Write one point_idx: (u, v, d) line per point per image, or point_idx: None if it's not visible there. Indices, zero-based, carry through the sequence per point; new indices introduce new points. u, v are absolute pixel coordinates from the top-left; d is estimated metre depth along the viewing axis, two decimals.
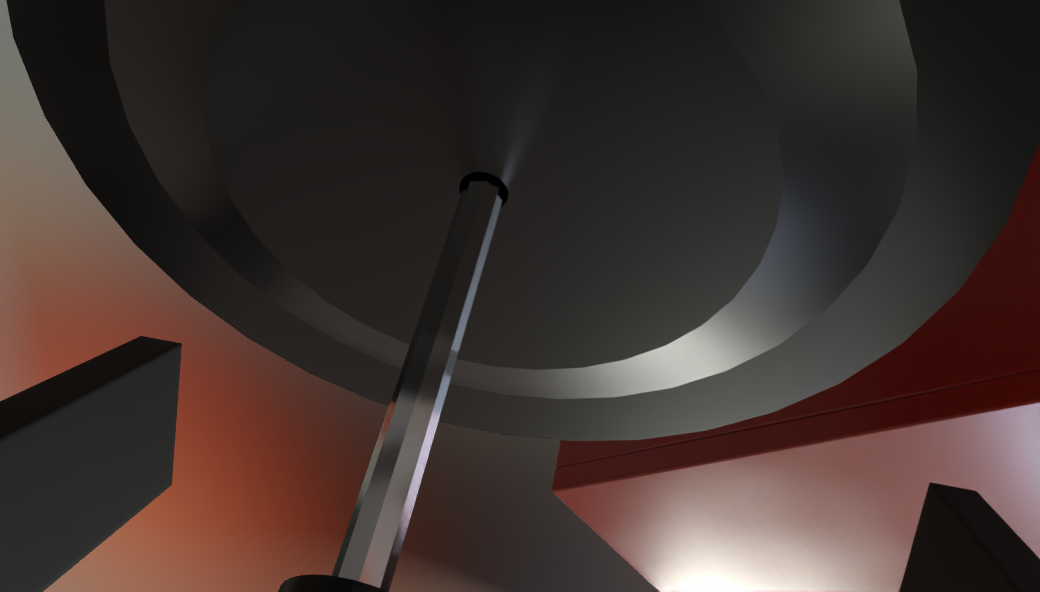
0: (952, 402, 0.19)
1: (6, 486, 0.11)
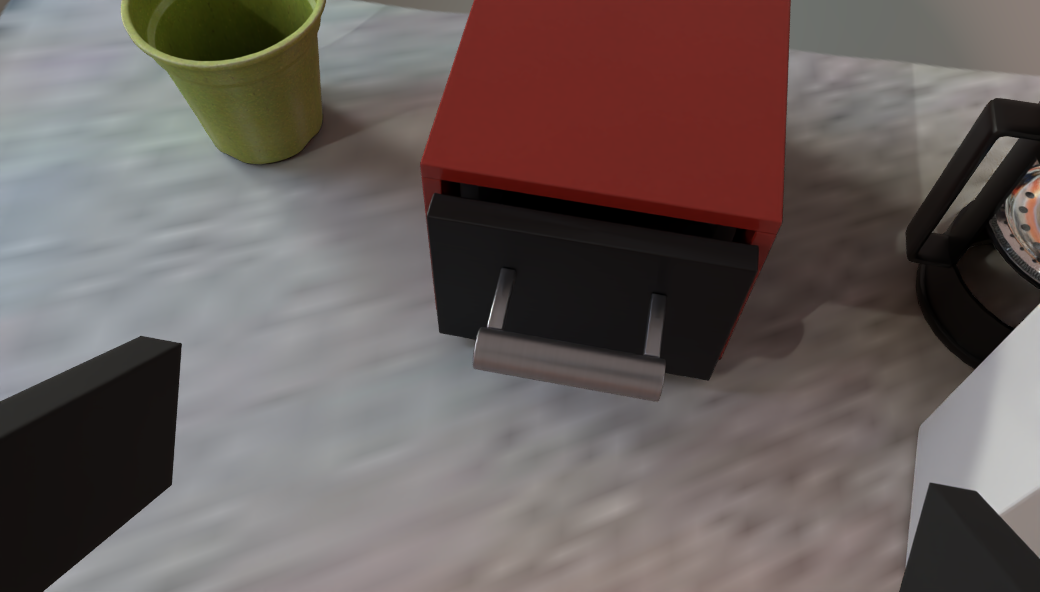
0: None
1: (6, 486, 0.11)
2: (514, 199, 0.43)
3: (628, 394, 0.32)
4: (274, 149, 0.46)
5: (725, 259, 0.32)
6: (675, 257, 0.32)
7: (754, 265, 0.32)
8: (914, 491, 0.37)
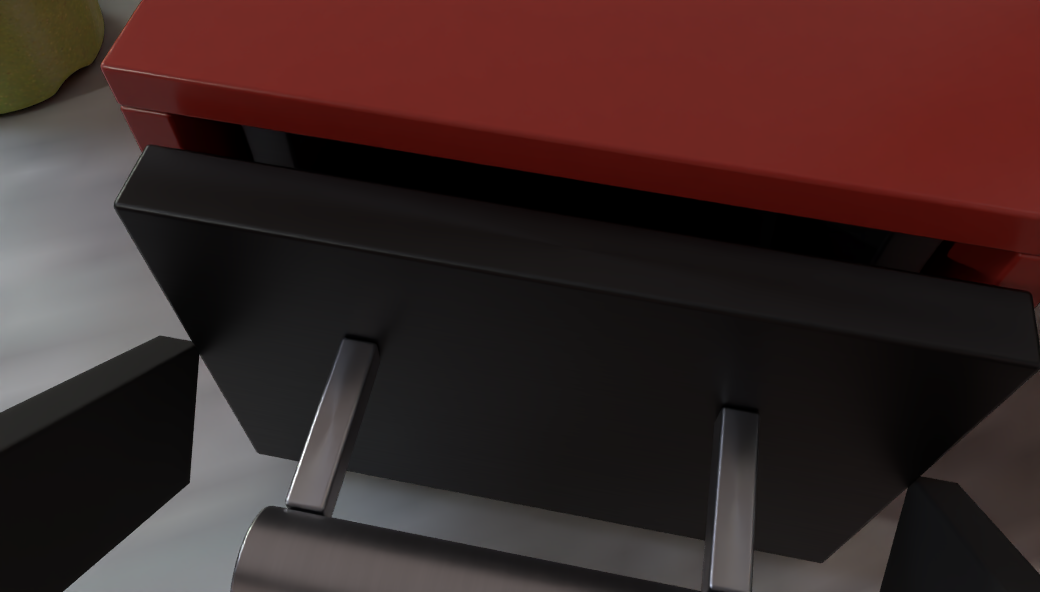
0: None
1: (34, 483, 0.11)
2: (427, 179, 0.22)
3: None
4: None
5: (945, 332, 0.11)
6: (802, 325, 0.11)
7: (1031, 349, 0.11)
8: None
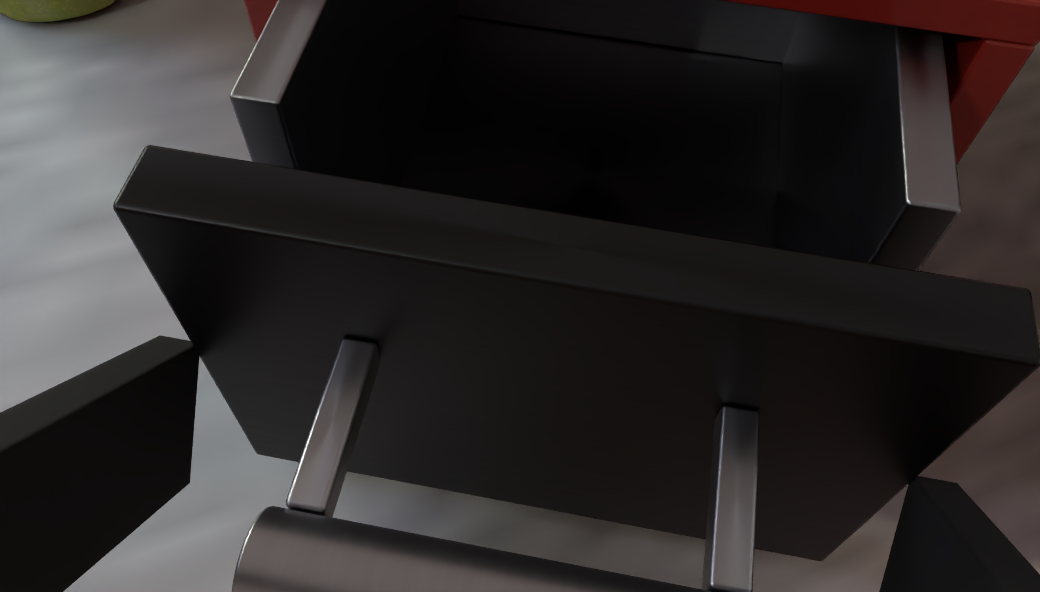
0: None
1: (34, 483, 0.11)
2: (425, 179, 0.22)
3: None
4: None
5: (944, 329, 0.11)
6: (801, 323, 0.11)
7: (1030, 347, 0.11)
8: None
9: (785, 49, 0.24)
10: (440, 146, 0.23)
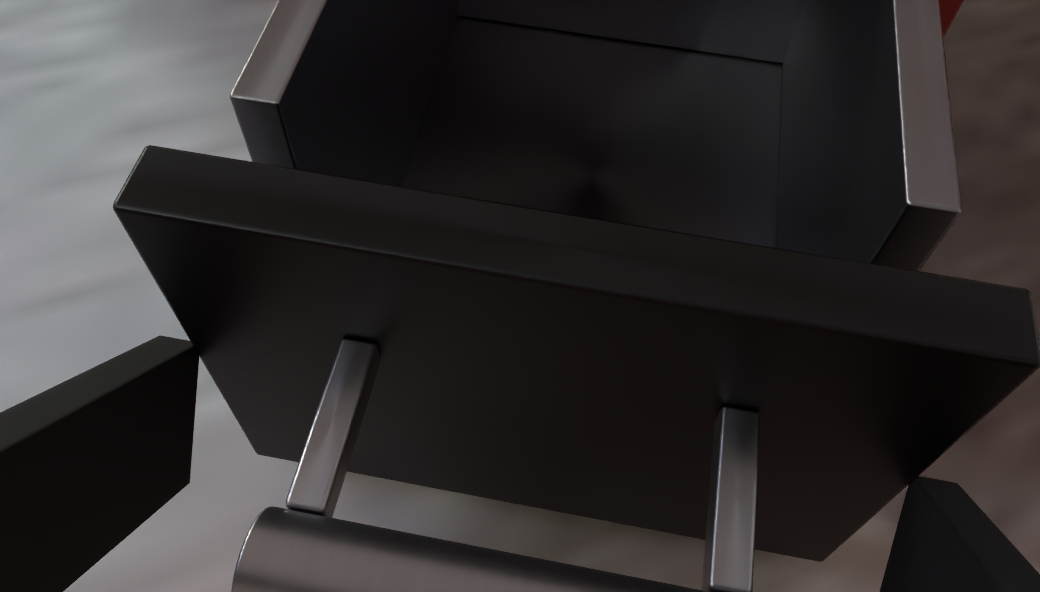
0: None
1: (34, 483, 0.11)
2: (425, 179, 0.22)
3: None
4: None
5: (944, 330, 0.11)
6: (802, 324, 0.11)
7: (1031, 348, 0.11)
8: None
9: (785, 49, 0.24)
10: (440, 146, 0.23)
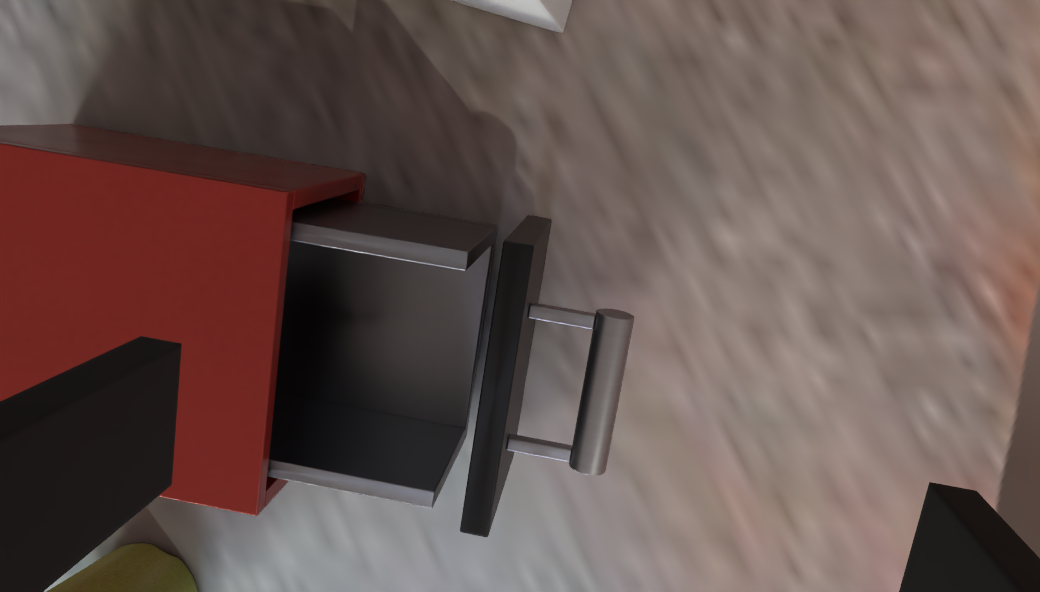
0: (168, 170, 0.34)
1: (6, 486, 0.11)
2: (369, 399, 0.44)
3: (629, 342, 0.37)
4: (185, 585, 0.48)
5: (522, 275, 0.34)
6: (521, 321, 0.34)
7: (527, 248, 0.34)
8: None
9: None
10: (346, 393, 0.44)
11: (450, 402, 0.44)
